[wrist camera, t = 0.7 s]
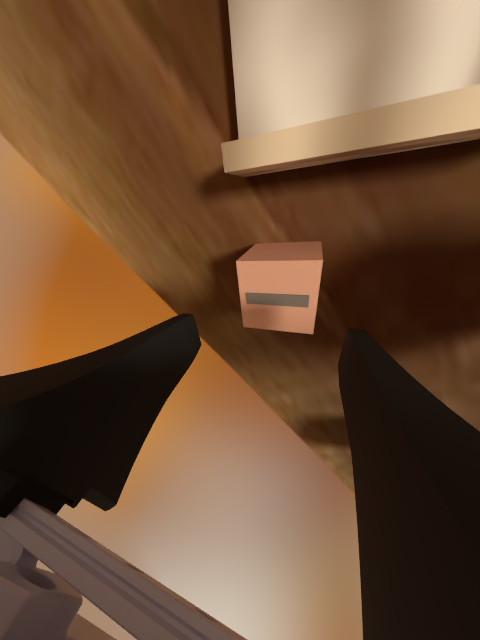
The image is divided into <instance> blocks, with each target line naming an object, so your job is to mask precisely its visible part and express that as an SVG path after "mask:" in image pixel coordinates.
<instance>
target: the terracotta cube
mask: <svg viewBox="0 0 480 640" xmlns="http://www.w3.org/2000/svg"><path fill="white" fill-rule="evenodd" d="M322 264H323V255H322V246H321V241H310V242H286V243H262V244H255V245H254V246H253V247H251V248H250V249H249V250H248V251H247V252H246V253H245V254H244V255H242V256H241V257H240V258H239V259H238V260H237V261H236V266H237V275H238V284H239V293H240V301H241V310H242V319H243V327H249V328H258V329H267V330H277V331H286V332H296V333H305V334H313V332H314V324H315V317H316V309H317V302H318V294H319V287H320V279H321V272H322Z"/></svg>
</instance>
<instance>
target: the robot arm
mask: <svg viewBox="0 0 480 640" xmlns="http://www.w3.org/2000/svg"><path fill="white" fill-rule="evenodd" d="M200 346H201V341H200V337H199V334H198V330H197V326H196V323H195V319H194V316H193V314H184V313H183V314H180V315H178V316H175V317H173V318H171V319H168V320H166V321H164V322H162V323H160V324H158V325H155V326H153V327H151V328H149V329H147V330H145V331H143V332H140V333H138V334H136V335H134V336H132V337H129V338H127V339H124V340H122V341H120V342H118V343H115V344H113V345H110V346H107V347H105V348H102V349H99V350H97V351H94V352H91V353H88V354H85V355H81V356H78V357H75V358H72V359H69V360H65V361H62V362H59V363H55V364H51V365H48V366H44V367H40V368H36V369H32V370H28V371H24V372H19V373H15V374H10V375H6V376H0V640H116V639H114V638H113V637H112V636H110V635H109V634H107V633H106V632H104V631H103V630H101V629H100V628H98V627H97V626H95V625H94V624H92V623H91V622H89V621H88V620H86V619H85V618H83V617H81V616H80V615H79V614H77V612H78V610H79V608H80V606H81V605H82V596H81V594H82V595H83V596H84V597H85V598H87V599H88V600H89V601H90V602H91V603H93V604H94V605H95V606H96V607H98V608H99V609H100V610H101V611H103V612H104V613H105V614H106V615H108V616H109V617H110V618H111V619H112V620H114V621H115V622H116V623H117V624H119V625H120V626H121V627H122V628H123V629H125V630H126V631H127V632H128V633H130V634H131V635H132V636H133V637H135V638H136V639H137V640H246V639H245V638H244V637H242V636H241V635H239V634H237V633H236V632H235V631H233V630H231V629H230V628H228V627H227V626H225V625H224V624H222V623H221V622H219V621H218V620H216V619H215V618H213V617H211V616H210V615H209V614H207V613H205V612H204V611H202V610H201V609H199V608H198V607H196V606H195V605H193V604H192V603H190V602H189V601H187V600H186V599H184V598H182V597H181V596H179V595H178V594H176V593H175V592H173V591H172V590H170V589H169V588H167V587H166V586H164V585H162V584H161V583H160V582H158V581H156V580H155V579H153V578H152V577H150V576H149V575H147V574H146V573H144V572H143V571H141V570H140V569H138V568H136V567H135V566H133V565H132V564H131V563H129V562H127V561H126V560H124V559H123V558H121V557H120V556H118V555H117V554H115V553H114V552H112V551H111V550H109V549H107V548H106V547H105V546H103V545H101V544H100V543H98V542H97V541H95V540H94V539H92V538H91V537H89V536H88V535H86V534H85V533H83V532H82V531H80V530H79V529H77V528H75V527H74V526H72V525H71V524H69V523H68V522H66V521H65V520H63V519H62V518H60V517H59V516H57V515H56V514H57V513H58V512H59V510H60V509H61V508H62V506H63V505H64V504H67V505H69V506H71V507H72V508H74V507H76V506H77V505H78V503H79V502H80V501H81V499H82V498H83V499H85V500H86V501H88V502H90V503H92V504H94V505H95V506H97V507H99V508H101V509H102V510H104V511H107V510H109V509H111V508H112V507H114V506H115V505H116V504H117V502H118V499H119V497H120V494H121V492H122V490H123V487H124V485H125V483H126V480H127V478H128V476H129V473H130V471H131V468H132V466H133V464H134V462H135V460H136V458H137V455H138V454H139V451H140V449H141V447H142V445H143V443H144V441H145V439H146V437H147V435H148V433H149V431H150V429H151V427H152V425H153V423H154V422H155V420H156V418H157V416H158V414H159V412H160V411H161V409H162V407H163V405H164V404H165V402H166V400H167V399H168V397H169V396H170V394H171V393H172V391H173V390H174V388H175V387H176V385H177V384H178V383H179V381H180V380H181V378H182V377H183V375H184V374H185V373H186V371H187V370H188V368H189V367H190V365H191V364H192V362H193V360H194V359H195V357H196V355H197V353H198V351H199V349H200ZM338 371H339V387H340V393H341V398H342V404H343V409H344V415H345V420H346V425H347V430H348V436H349V441H350V448H351V454H352V464H353V475H354V486H355V499H356V512H357V526H358V542H359V559H360V576H361V598H362V621H363V640H480V432H479V431H478V430H477V429H475V428H474V427H473V426H471V425H470V424H469V423H468V422H466V421H465V420H464V419H462V418H461V417H460V416H459V415H457V414H456V413H455V412H453V411H452V410H451V409H450V408H448V407H447V406H446V405H445V404H444V403H442V402H441V401H440V400H439V399H437V398H436V397H435V396H434V395H433V394H432V393H430V392H429V391H428V390H427V389H426V388H425V387H424V386H422V385H421V384H420V383H419V382H418V381H417V380H416V379H414V378H413V377H412V376H411V375H410V374H409V373H408V372H407V371H406V370H405V369H404V368H403V367H401V366H400V365H399V364H398V363H397V362H396V361H395V360H394V359H393V358H392V357H391V356H390V355H389V354H388V353H387V352H386V351H385V350H384V349H383V348H382V347H381V346H380V345H379V344H378V343H377V342H376V341H375V340H374V339H373V338H372V337H371V336H370V335H369V334H368V333H367V332H366V331H365V330H361V329H350V328H347V331H346V335H345V339H344V343H343V347H342V351H341V355H340V359H339V363H338ZM38 560H40V561H41V562H42V563H43V564H45V565H46V566H47V567H48V568H49V569H51V570H52V571H53V572H54V573H52V572H49V571H46V570H42V569H39V568H36V564H37V561H38ZM55 573H56V574H55Z"/></svg>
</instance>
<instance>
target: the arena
mask: <svg viewBox="0 0 480 640" xmlns="http://www.w3.org/2000/svg"><path fill="white" fill-rule="evenodd" d="M228 8H229V21H230V34H231V47H232V59H233V72H234V85H235V98H236V111H237V124H238V137H239V139H238V140H234V141H230V142H225V143H221V145H222V154H223V163H224V172H225V173H228V174H233V175H238V176H243V177H248V176H254V175H260V174H266V173H272V172H279V171H285V170H291V169H297V168H304V167H310V166H316V165H322V164H328V163H335V162H341V161H347V160H353V159H359V158H366V157H372V156H378V155H384V154H391V153H397V152H403V151H409V150H415V149H422V148H428V147H434V146H440V145H446V144H453V143H459V142H465V141H471V140H478V139H480V0H228Z"/></svg>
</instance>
